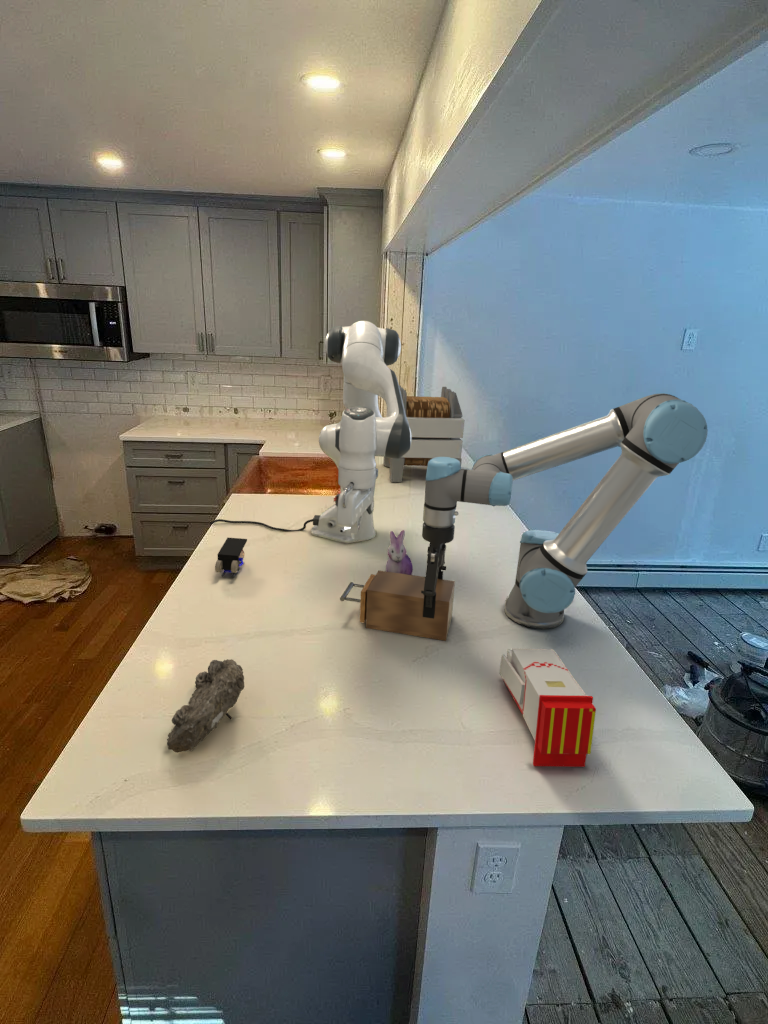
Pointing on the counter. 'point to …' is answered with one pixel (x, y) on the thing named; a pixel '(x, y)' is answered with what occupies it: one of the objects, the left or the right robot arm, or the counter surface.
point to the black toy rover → (230, 556)
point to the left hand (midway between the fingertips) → (355, 531)
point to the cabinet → (408, 605)
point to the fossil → (206, 705)
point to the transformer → (429, 431)
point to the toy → (550, 706)
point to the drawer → (363, 596)
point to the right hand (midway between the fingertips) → (432, 605)
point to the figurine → (398, 555)
